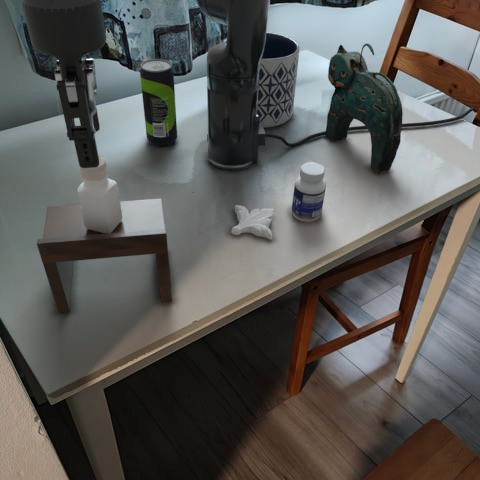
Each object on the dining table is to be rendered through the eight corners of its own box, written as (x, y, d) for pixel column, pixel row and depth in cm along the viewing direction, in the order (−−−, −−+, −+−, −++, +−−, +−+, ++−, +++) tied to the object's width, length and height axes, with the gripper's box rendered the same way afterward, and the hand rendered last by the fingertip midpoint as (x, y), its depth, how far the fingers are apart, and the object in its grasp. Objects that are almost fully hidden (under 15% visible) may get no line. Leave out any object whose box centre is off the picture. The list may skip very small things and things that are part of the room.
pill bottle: (289, 205, 93) (294, 160, 87) (318, 204, 94) (325, 159, 87) (293, 223, 90) (299, 177, 83) (323, 222, 90) (332, 176, 84)
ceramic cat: (316, 133, 112) (330, 31, 98) (340, 127, 114) (358, 27, 100) (374, 178, 100) (401, 70, 86) (400, 170, 103) (430, 64, 88)
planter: (207, 113, 117) (206, 44, 106) (253, 91, 125) (256, 26, 115) (262, 137, 110) (266, 66, 100) (306, 113, 118) (315, 45, 108)
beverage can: (183, 139, 108) (180, 64, 97) (162, 151, 105) (155, 74, 94) (162, 130, 111) (156, 55, 100) (140, 140, 108) (132, 64, 97)
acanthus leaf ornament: (234, 211, 92) (234, 201, 90) (273, 214, 91) (274, 204, 90) (230, 236, 86) (230, 227, 85) (272, 240, 86) (273, 230, 85)
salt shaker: (124, 219, 72) (114, 156, 65) (110, 236, 69) (98, 172, 62) (98, 213, 73) (86, 150, 66) (83, 230, 70) (69, 166, 63)
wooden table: (166, 253, 83) (160, 186, 74) (172, 301, 76) (166, 233, 67) (62, 262, 81) (43, 194, 72) (58, 312, 73) (36, 243, 65)
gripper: (99, 16, 46) (124, 177, 58) (99, -28, 56) (121, 118, 68) (10, 18, 45) (54, 182, 57) (26, -27, 55) (61, 121, 67)
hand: (90, 147), depth 62 cm, fingers open, 8 cm apart
